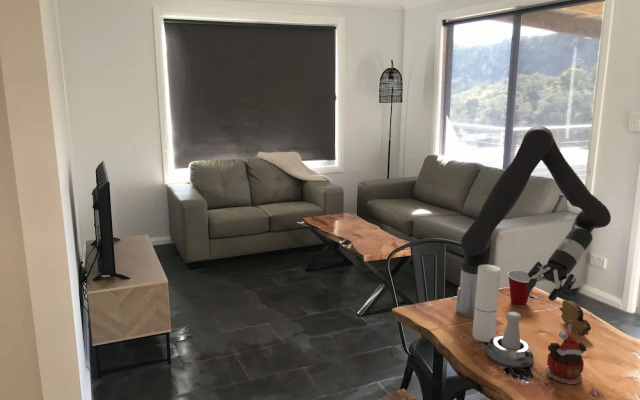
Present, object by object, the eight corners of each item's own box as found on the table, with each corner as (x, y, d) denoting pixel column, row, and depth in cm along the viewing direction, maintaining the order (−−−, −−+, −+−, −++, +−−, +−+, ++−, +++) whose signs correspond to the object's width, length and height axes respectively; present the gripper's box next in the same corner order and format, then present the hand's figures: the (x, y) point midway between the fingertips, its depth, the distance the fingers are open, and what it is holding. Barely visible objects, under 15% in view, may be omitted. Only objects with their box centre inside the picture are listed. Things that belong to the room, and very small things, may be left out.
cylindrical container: (494, 334, 177) (500, 266, 172) (493, 343, 171) (500, 273, 165) (472, 330, 180) (478, 263, 174) (471, 339, 173) (477, 270, 168)
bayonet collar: (478, 357, 162) (479, 344, 161) (497, 341, 172) (498, 329, 171) (522, 373, 153) (524, 360, 152) (539, 356, 163) (540, 343, 162)
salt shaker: (521, 356, 159) (525, 318, 157) (501, 354, 161) (505, 316, 158) (518, 347, 165) (522, 310, 162) (499, 345, 166) (503, 308, 163)
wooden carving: (594, 339, 174) (598, 312, 172) (582, 340, 173) (586, 313, 171) (564, 318, 190) (567, 293, 188) (553, 319, 189) (556, 294, 187)
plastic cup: (514, 309, 197) (517, 280, 194) (499, 298, 207) (501, 271, 205) (539, 307, 199) (542, 279, 197) (523, 296, 210) (526, 269, 207)
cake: (572, 368, 156) (579, 313, 152) (589, 385, 147) (597, 328, 143) (538, 368, 156) (545, 313, 152) (553, 385, 147) (560, 328, 143)
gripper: (543, 243, 170) (515, 281, 168) (582, 255, 158) (553, 296, 155) (552, 256, 174) (525, 293, 171) (590, 269, 162) (562, 309, 159)
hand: (538, 294), depth 163 cm, fingers open, 8 cm apart
